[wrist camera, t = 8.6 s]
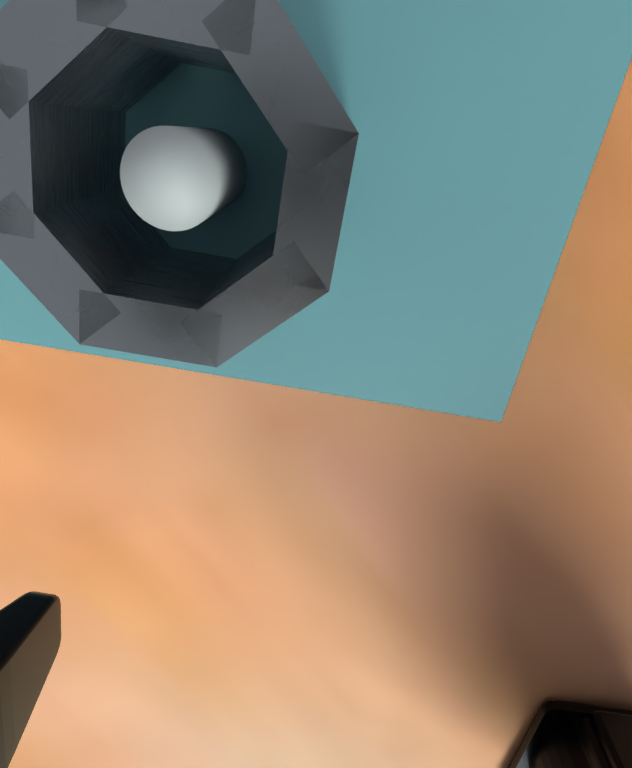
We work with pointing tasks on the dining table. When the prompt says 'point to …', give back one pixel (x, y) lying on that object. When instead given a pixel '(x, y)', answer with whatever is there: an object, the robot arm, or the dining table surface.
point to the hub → (103, 185)
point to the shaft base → (390, 191)
